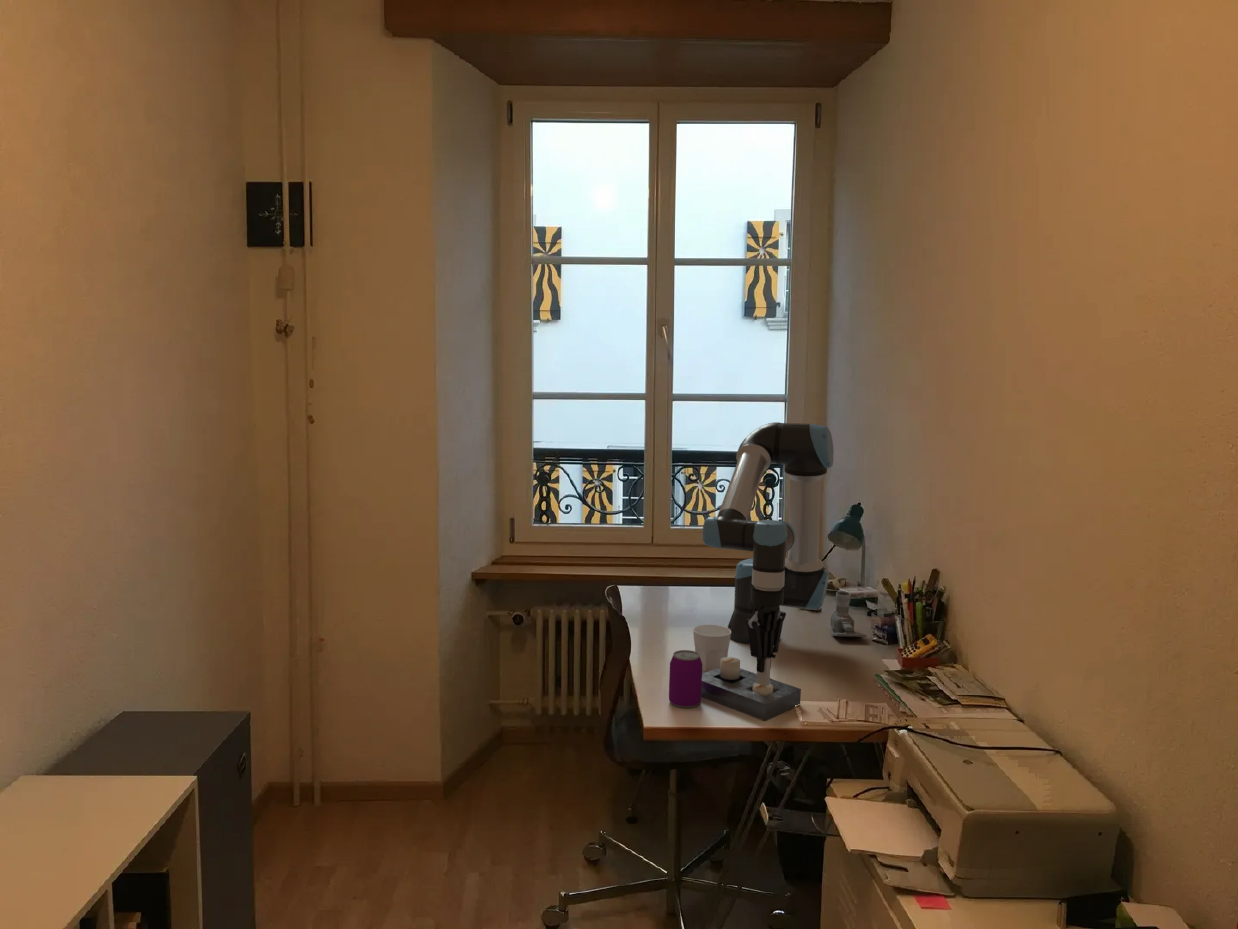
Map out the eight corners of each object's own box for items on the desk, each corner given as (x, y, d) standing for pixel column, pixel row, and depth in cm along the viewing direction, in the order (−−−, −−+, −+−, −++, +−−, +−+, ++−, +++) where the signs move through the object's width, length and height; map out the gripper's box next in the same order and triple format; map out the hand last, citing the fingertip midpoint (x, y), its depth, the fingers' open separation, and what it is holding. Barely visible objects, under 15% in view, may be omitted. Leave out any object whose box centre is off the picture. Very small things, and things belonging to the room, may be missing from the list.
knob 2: (760, 696, 211) (760, 679, 210) (776, 702, 207) (777, 685, 207) (747, 701, 207) (748, 684, 207) (764, 707, 204) (765, 690, 203)
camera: (854, 590, 268) (868, 605, 253) (852, 627, 270) (866, 644, 255) (826, 589, 268) (838, 604, 253) (824, 626, 270) (836, 643, 255)
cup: (690, 659, 238) (692, 624, 237) (727, 660, 238) (729, 625, 236) (692, 672, 228) (694, 635, 227) (731, 673, 228) (732, 637, 226)
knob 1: (728, 671, 217) (728, 654, 217) (743, 676, 214) (744, 659, 213) (715, 675, 214) (716, 659, 213) (731, 681, 211) (732, 664, 210)
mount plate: (727, 679, 224) (728, 664, 223) (800, 705, 208) (801, 689, 207) (691, 693, 214) (692, 677, 213) (764, 721, 198) (765, 704, 198)
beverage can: (664, 706, 205) (666, 657, 204) (674, 694, 212) (675, 647, 211) (695, 711, 203) (697, 662, 201) (704, 699, 210) (706, 651, 208)
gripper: (771, 579, 211) (766, 673, 214) (737, 588, 202) (733, 686, 205) (797, 585, 206) (792, 682, 208) (763, 595, 197) (759, 695, 199)
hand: (762, 684), depth 207 cm, fingers closed
